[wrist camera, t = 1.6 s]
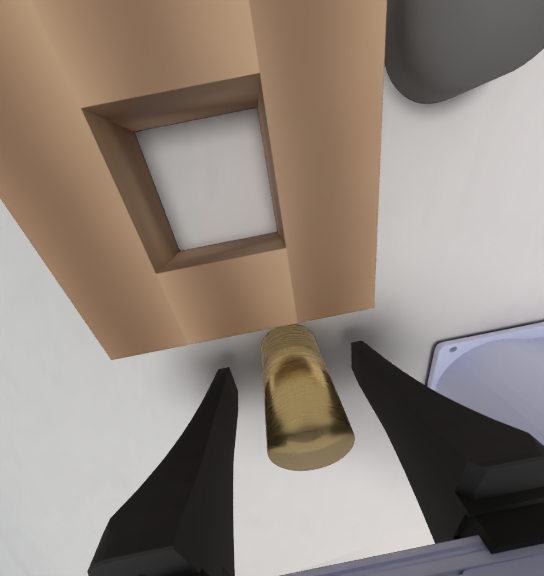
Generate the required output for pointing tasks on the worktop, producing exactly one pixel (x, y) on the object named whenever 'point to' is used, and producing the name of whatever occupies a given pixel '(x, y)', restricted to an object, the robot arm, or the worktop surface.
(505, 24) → the flat gray river rock
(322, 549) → the worktop surface
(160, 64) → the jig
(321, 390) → the brass cylinder plug
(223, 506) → the robot arm
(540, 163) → the worktop surface
